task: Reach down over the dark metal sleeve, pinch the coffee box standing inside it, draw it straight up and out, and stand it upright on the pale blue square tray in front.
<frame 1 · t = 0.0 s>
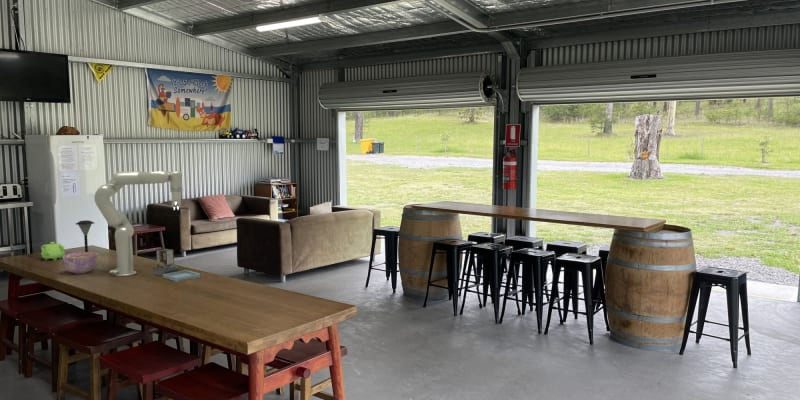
hand: (177, 215, 373), 37 cm above the table, tool pointing down, fingers open, 9 cm apart
coffee box: (166, 274, 368), resting in metal sleeve
pale blue square tray: (181, 277, 358), on the table
green lumpy rounded block: (52, 259, 415), on the table
solar garden light: (87, 262, 403), on the table
bowl of food: (81, 272, 372), on the table
metal sleeve: (166, 274, 368), on the table
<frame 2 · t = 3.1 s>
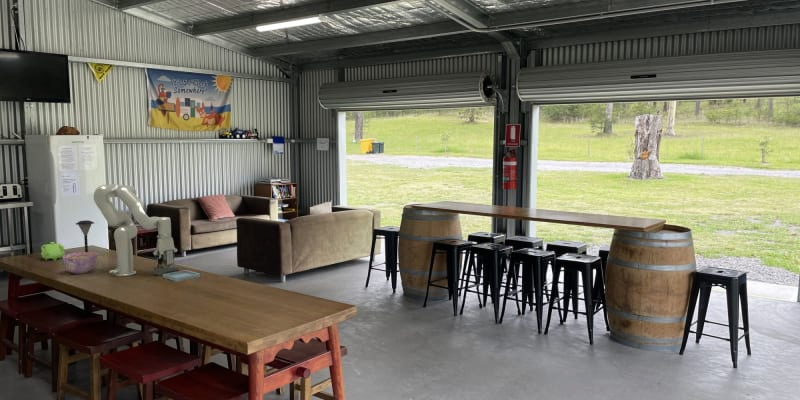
hand: (165, 263, 367), 7 cm above the table, tool pointing down, fingers closed on coffee box, 7 cm apart
coffee box: (166, 274, 368), resting in metal sleeve, touching gripper
everything else where it was.
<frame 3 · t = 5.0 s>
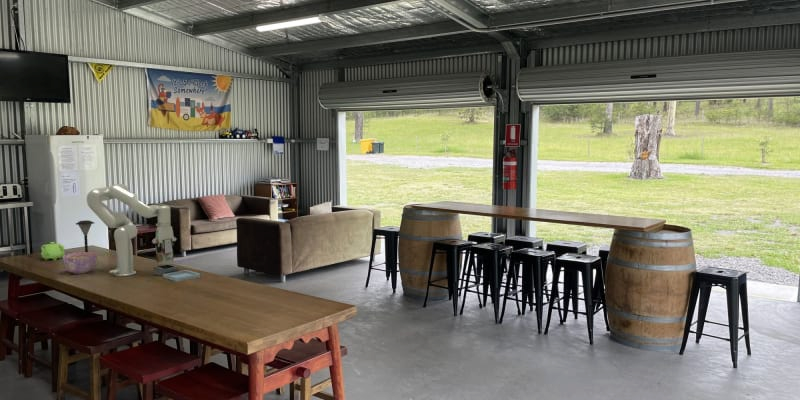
hand: (164, 251, 366), 15 cm above the table, tool pointing down, fingers closed on coffee box, 7 cm apart
coffee box: (165, 263, 367), point 7 cm above the table, touching gripper
everything else where it was.
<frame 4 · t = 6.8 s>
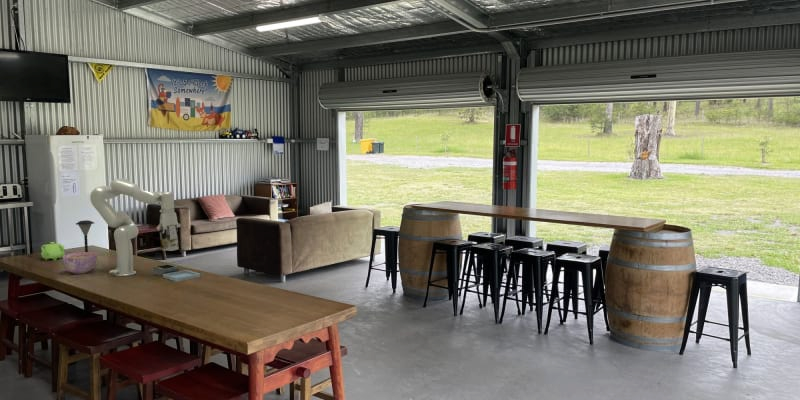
hand: (169, 238, 363), 24 cm above the table, tool pointing down, fingers closed on coffee box, 7 cm apart
coffee box: (170, 250, 364), point 16 cm above the table, touching gripper
everything else where it was.
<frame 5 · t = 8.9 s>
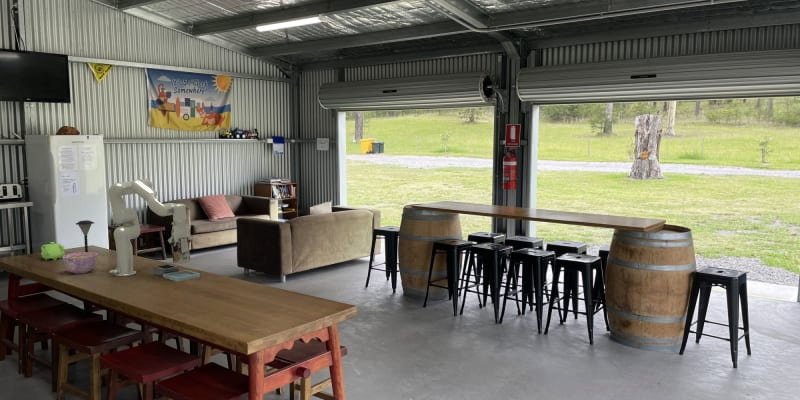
hand: (180, 251, 356), 17 cm above the table, tool pointing down, fingers closed on coffee box, 7 cm apart
coffee box: (181, 263, 357), point 9 cm above the table, touching gripper
everything else where it was.
when the fingers open (10 cm above the table, at t = 10.8 s): coffee box drops 1 cm, resting on pale blue square tray.
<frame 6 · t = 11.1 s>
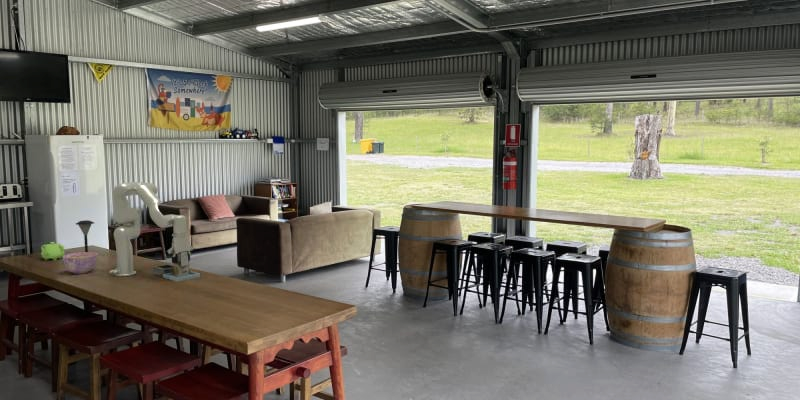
hand: (181, 261, 357), 10 cm above the table, tool pointing down, fingers open, 9 cm apart
coffee box: (181, 276, 358), point 1 cm above the table, touching pale blue square tray
everything else where it was.
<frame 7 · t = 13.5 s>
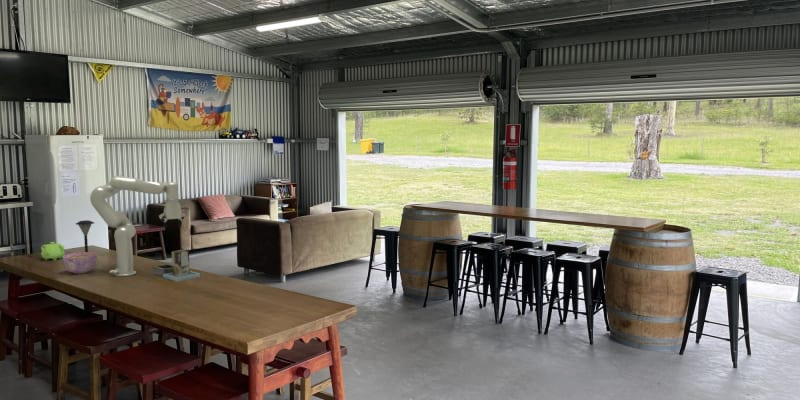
hand: (172, 227, 369), 30 cm above the table, tool pointing down, fingers open, 9 cm apart
nothing on the table moved.
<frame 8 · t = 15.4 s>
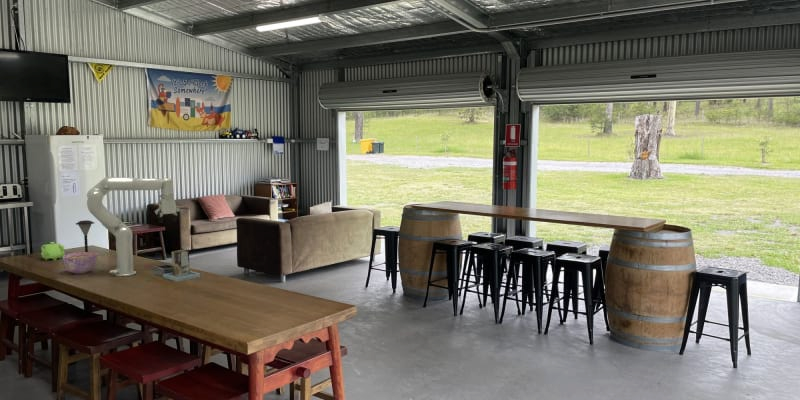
hand: (167, 222, 379), 32 cm above the table, tool pointing down, fingers open, 9 cm apart
nothing on the table moved.
at the end: coffee box inside the target area on the pale blue square tray (0.2 cm from its centre), point 0.8 cm above the pale blue square tray's base; coffee box tilted 0°; the gripper is holding nothing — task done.
